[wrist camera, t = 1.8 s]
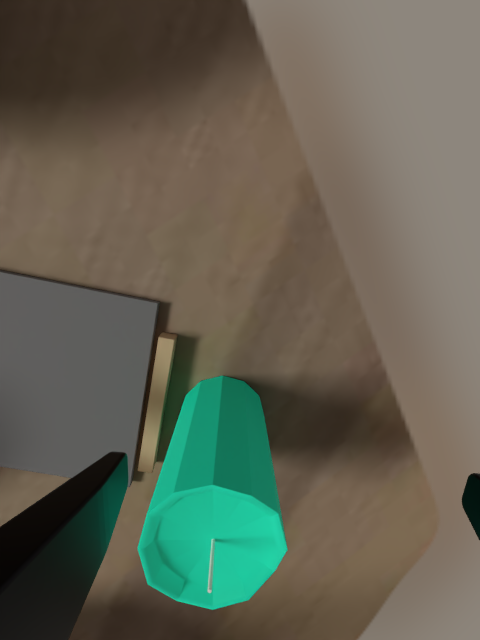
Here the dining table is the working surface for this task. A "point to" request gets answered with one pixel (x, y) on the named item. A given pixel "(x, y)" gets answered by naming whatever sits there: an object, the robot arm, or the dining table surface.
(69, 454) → the mat
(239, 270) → the dining table surface
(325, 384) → the dining table surface
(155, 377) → the strip
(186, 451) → the candle
